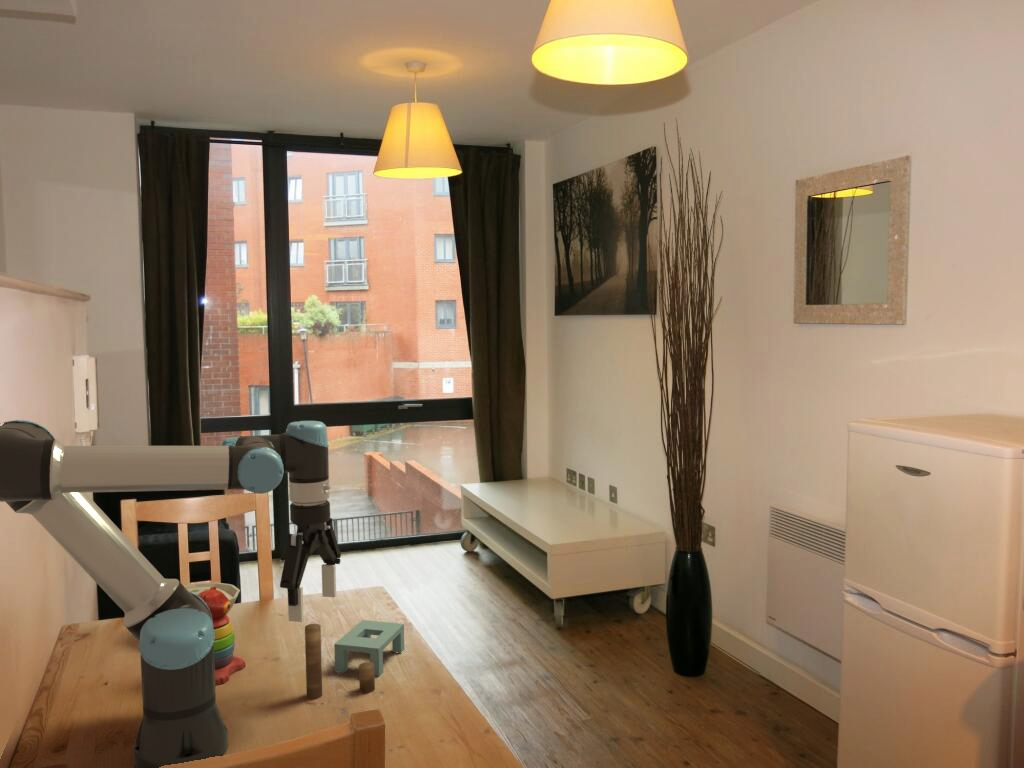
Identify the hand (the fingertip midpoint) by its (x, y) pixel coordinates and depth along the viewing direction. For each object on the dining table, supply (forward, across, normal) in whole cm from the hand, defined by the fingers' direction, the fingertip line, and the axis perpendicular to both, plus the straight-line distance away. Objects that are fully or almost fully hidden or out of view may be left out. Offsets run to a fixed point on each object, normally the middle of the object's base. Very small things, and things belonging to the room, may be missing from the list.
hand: (313, 608), depth 164 cm
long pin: (+18, 0, 0) cm, 18 cm away
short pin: (+18, +5, -9) cm, 20 cm away
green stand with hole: (+18, +18, -4) cm, 25 cm away
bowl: (+18, +23, +42) cm, 51 cm away
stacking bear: (+18, +4, +26) cm, 31 cm away
